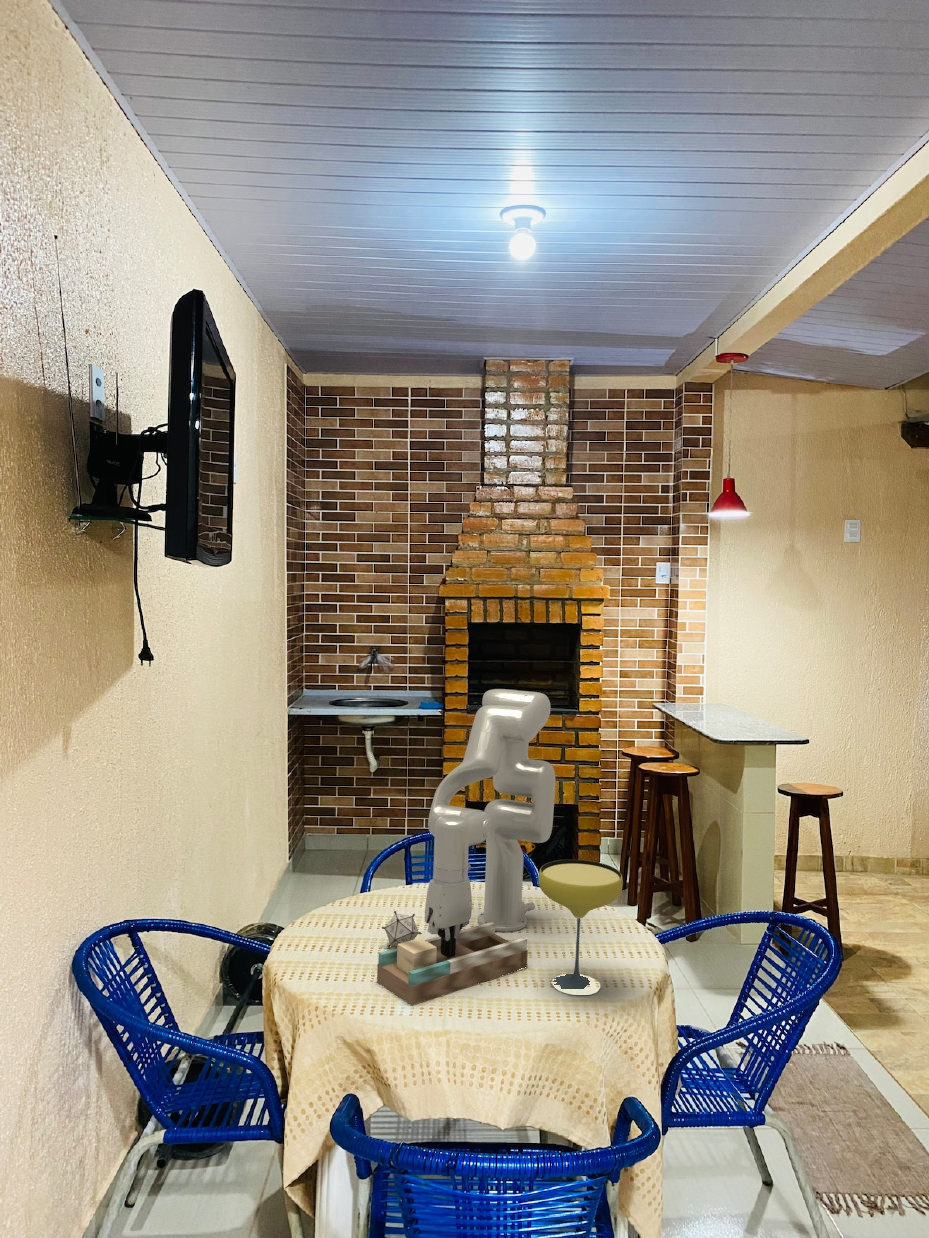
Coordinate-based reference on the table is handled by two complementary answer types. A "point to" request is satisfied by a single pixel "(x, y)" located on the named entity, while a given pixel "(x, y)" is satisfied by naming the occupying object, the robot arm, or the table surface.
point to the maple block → (415, 955)
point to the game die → (401, 929)
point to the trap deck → (454, 965)
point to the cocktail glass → (579, 897)
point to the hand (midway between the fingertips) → (447, 955)
